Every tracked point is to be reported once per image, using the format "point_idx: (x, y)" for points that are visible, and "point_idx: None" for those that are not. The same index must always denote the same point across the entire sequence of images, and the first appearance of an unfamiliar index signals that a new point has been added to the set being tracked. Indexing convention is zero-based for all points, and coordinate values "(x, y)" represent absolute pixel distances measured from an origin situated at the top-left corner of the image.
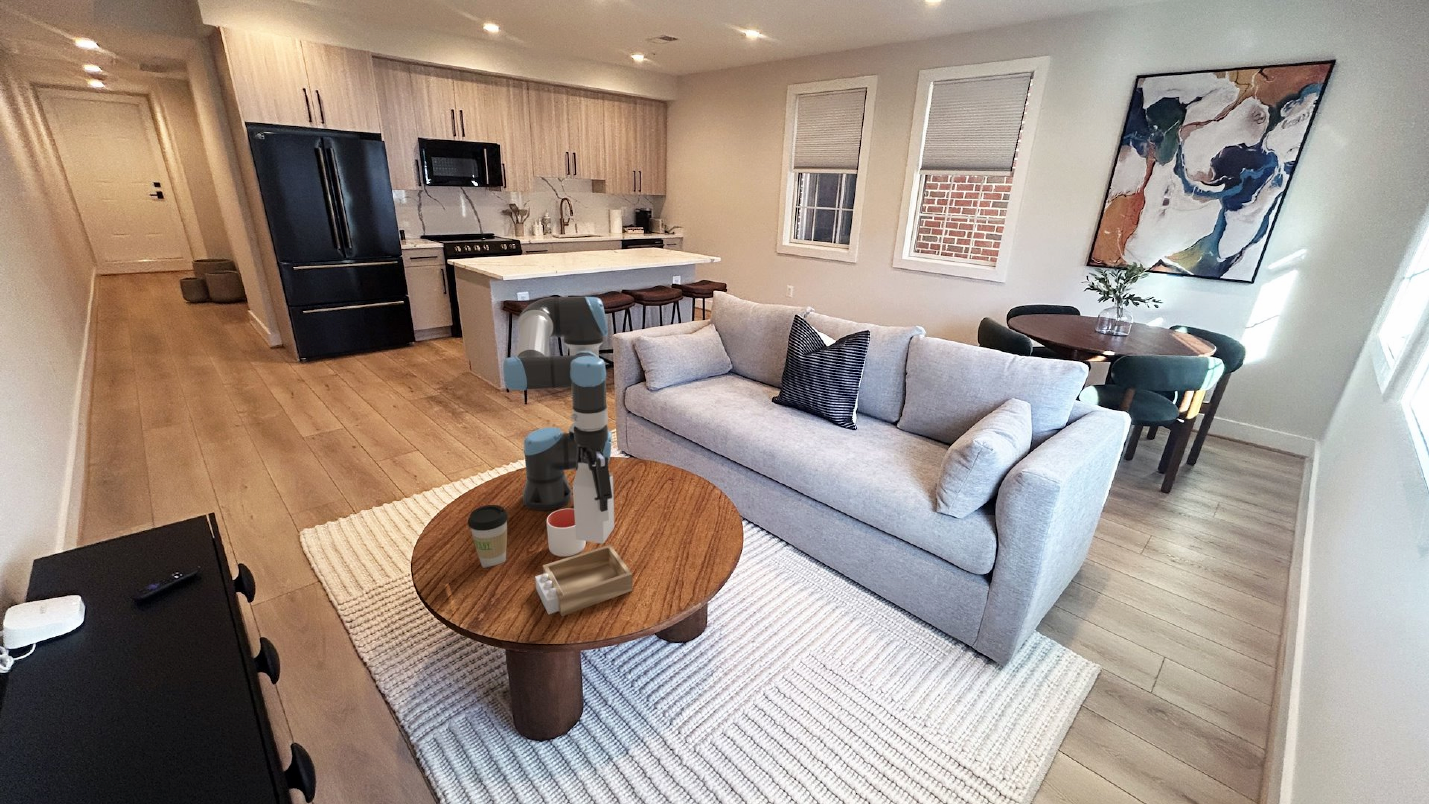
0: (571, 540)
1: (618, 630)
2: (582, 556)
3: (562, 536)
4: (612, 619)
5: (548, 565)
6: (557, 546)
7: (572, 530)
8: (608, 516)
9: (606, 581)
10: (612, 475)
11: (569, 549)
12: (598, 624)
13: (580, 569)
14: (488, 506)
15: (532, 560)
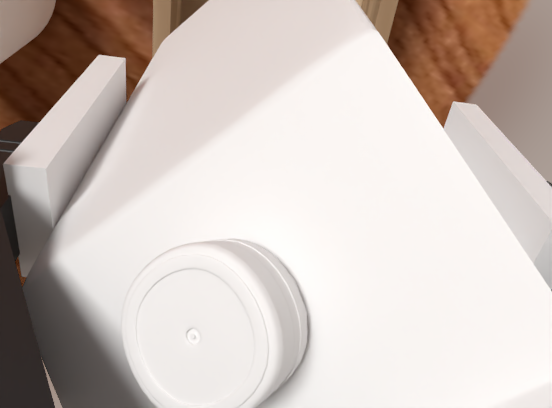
0: (29, 1)
1: (498, 41)
2: (171, 18)
3: (12, 45)
4: (447, 31)
5: None
6: (20, 48)
7: (7, 6)
8: (488, 119)
9: (384, 23)
10: (383, 42)
11: (45, 3)
12: (431, 77)
13: (179, 15)
14: None
15: (13, 108)
